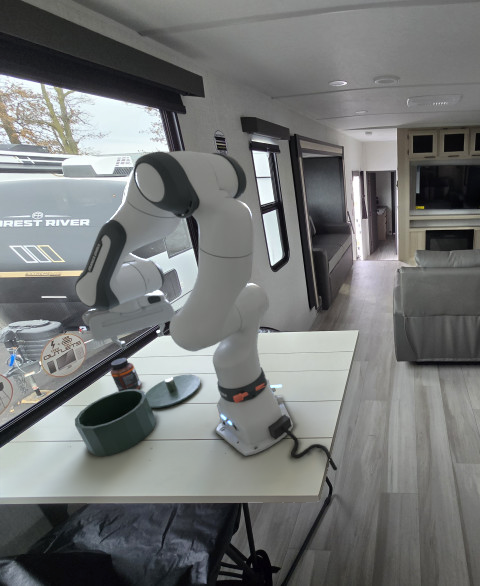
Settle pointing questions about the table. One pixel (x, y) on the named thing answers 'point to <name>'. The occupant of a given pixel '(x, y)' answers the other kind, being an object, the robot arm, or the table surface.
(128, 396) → the waste tin
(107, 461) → the table surface
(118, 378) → the supplement bottle
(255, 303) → the robot arm
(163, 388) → the tin lid
